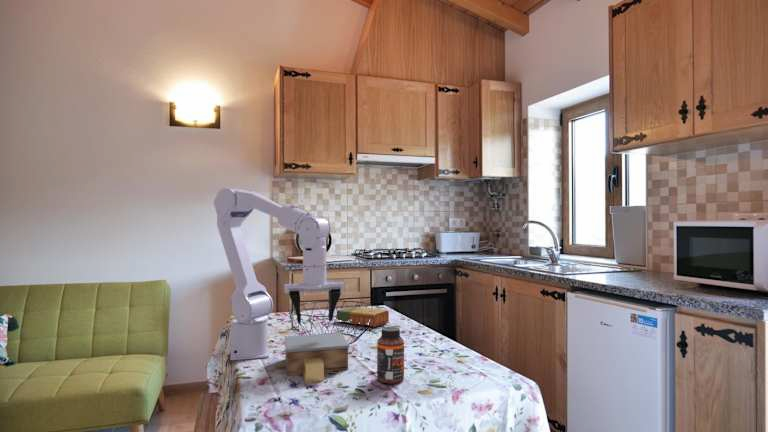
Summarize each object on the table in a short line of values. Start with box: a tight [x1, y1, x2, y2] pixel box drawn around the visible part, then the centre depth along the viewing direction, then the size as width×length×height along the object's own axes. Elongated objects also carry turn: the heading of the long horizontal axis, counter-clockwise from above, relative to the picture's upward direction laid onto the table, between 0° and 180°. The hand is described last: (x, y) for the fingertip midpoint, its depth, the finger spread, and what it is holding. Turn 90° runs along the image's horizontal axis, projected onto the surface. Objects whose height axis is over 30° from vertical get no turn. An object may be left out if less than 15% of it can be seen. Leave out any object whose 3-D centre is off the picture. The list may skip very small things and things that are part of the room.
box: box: [284, 346, 349, 376], centre depth 111 cm, size 14×12×5 cm
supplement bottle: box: [376, 326, 405, 385], centre depth 100 cm, size 6×6×11 cm
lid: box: [284, 332, 350, 353], centre depth 110 cm, size 14×12×1 cm
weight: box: [302, 357, 325, 384], centre depth 101 cm, size 4×4×4 cm
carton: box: [336, 306, 390, 328], centre depth 152 cm, size 8×16×4 cm, turn 56°
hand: (314, 321), depth 111 cm, fingers open, 7 cm apart
